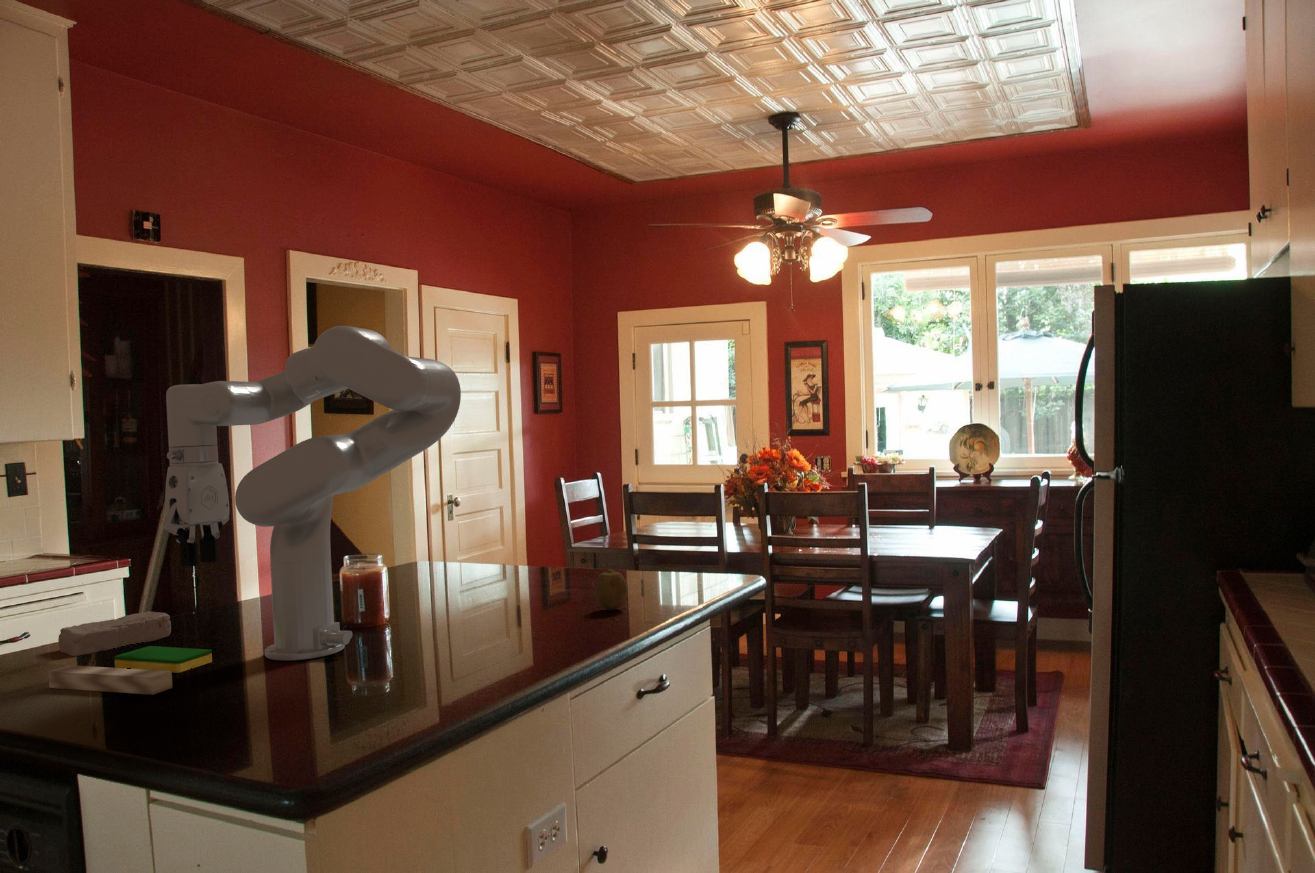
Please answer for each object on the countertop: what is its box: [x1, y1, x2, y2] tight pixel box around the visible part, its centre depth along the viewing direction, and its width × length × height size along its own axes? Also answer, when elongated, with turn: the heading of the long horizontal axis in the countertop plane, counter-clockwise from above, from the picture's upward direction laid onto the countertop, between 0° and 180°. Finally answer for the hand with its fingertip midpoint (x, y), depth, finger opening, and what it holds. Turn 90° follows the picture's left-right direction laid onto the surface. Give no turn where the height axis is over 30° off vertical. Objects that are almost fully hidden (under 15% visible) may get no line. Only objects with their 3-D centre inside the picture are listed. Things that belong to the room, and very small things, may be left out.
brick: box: [57, 611, 172, 657], centre depth 176 cm, size 17×8×5 cm, turn 141°
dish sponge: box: [114, 645, 213, 674], centre depth 158 cm, size 7×14×2 cm, turn 69°
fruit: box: [594, 568, 628, 612], centre depth 187 cm, size 6×6×8 cm
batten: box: [48, 664, 173, 696], centre depth 145 cm, size 20×4×2 cm, turn 72°
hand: (199, 562), depth 166 cm, fingers open, 3 cm apart
